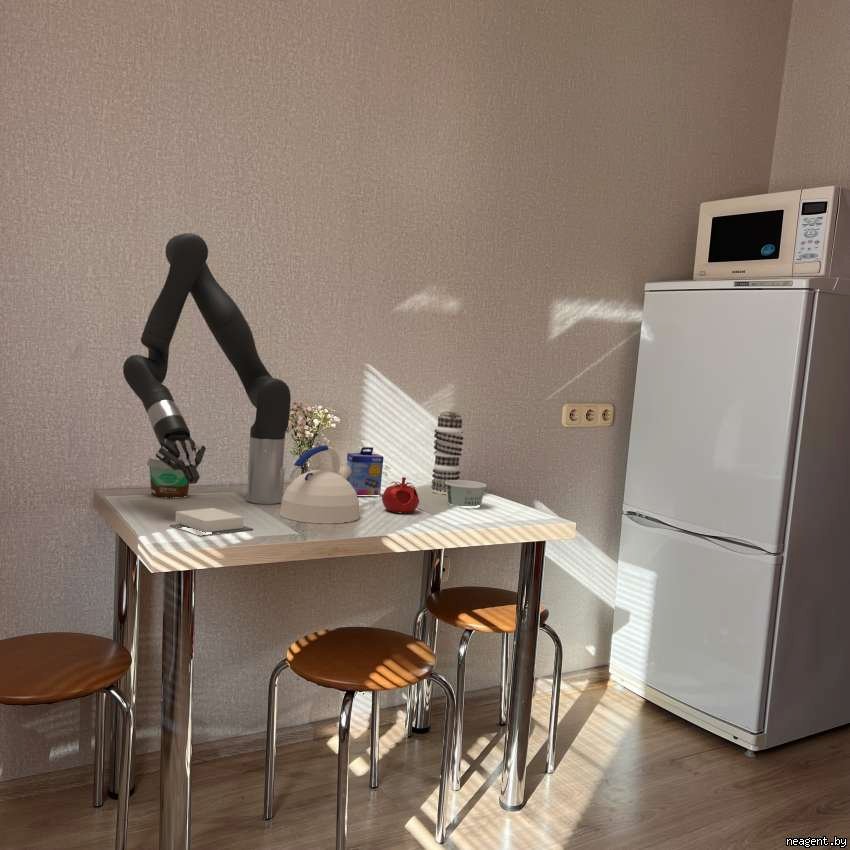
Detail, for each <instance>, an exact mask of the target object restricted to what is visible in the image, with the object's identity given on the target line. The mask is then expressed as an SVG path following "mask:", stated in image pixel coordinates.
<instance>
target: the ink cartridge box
mask: <svg viewBox="0 0 850 850" xmlns="http://www.w3.org/2000/svg"><path fill="white" fill-rule="evenodd" d="M364 450H365V451H364ZM368 450H369V451H368ZM373 452H374V447H372V446H370V447H369V446H365V447H364V446H363V447H361V449H360V452H347V455H346V465H347V466H349V467H350V468H351V474H349V476H348V477H347V479H346V480H347V481H348V482H349V483H350V484H351V485H352V487H353V488H354V490H355V491H356V494H357V495H380V496H381V491H382V490H381V489H382V478H383V467H384V458H385V457H384V456H383V455H381V454H378V453H373Z"/></svg>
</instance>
